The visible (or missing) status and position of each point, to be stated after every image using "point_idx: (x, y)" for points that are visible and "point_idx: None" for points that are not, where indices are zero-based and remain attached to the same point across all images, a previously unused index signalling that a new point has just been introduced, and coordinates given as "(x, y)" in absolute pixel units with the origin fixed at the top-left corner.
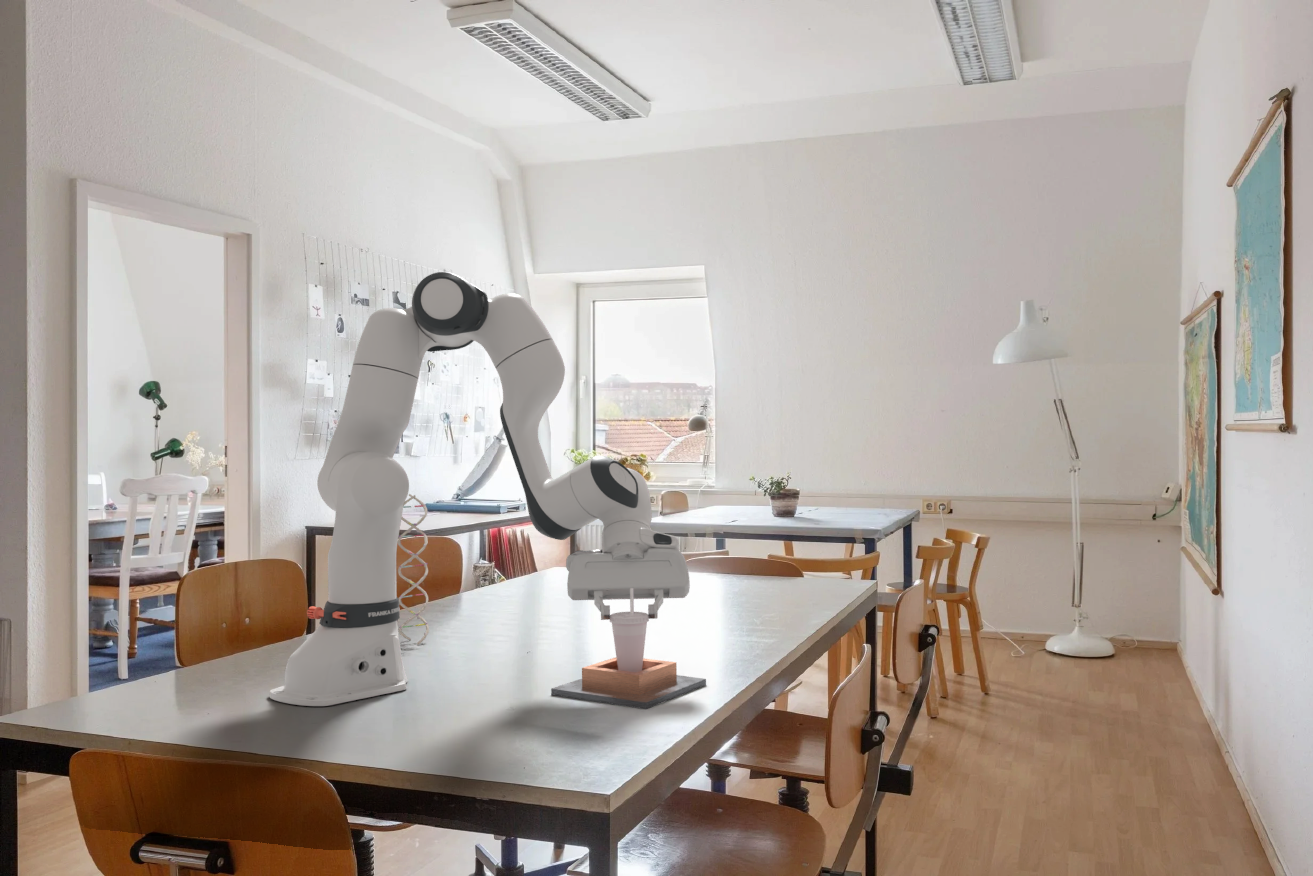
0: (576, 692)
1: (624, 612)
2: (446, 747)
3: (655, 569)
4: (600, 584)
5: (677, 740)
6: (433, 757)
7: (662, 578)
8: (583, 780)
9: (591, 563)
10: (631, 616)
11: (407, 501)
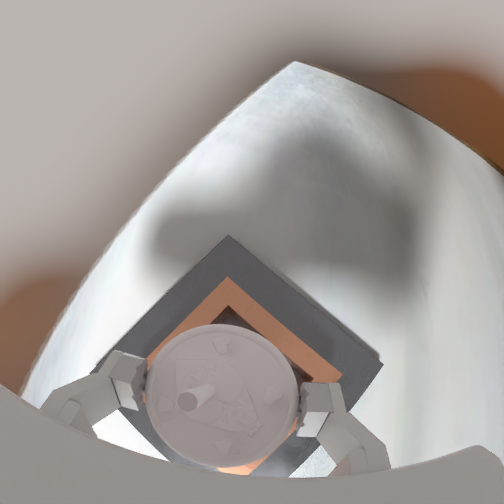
0: (342, 330)
1: (230, 460)
2: (435, 158)
3: (4, 494)
4: (376, 486)
5: (222, 121)
6: (432, 140)
7: (6, 432)
8: (312, 75)
9: None
10: (216, 360)
11: None
